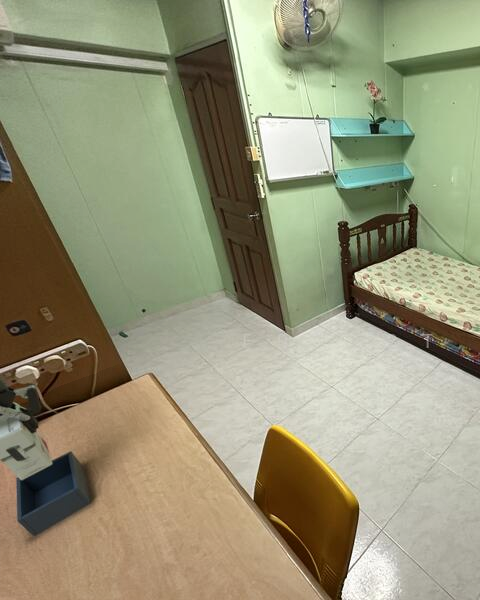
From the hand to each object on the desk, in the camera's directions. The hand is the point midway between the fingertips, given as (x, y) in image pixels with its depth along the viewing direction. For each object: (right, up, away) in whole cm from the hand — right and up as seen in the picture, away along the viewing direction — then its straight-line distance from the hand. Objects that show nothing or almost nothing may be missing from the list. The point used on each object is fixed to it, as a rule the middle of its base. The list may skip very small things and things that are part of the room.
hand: (14, 439), depth 64 cm
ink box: (0, -7, +4) cm, 8 cm away
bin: (0, -18, +9) cm, 20 cm away
